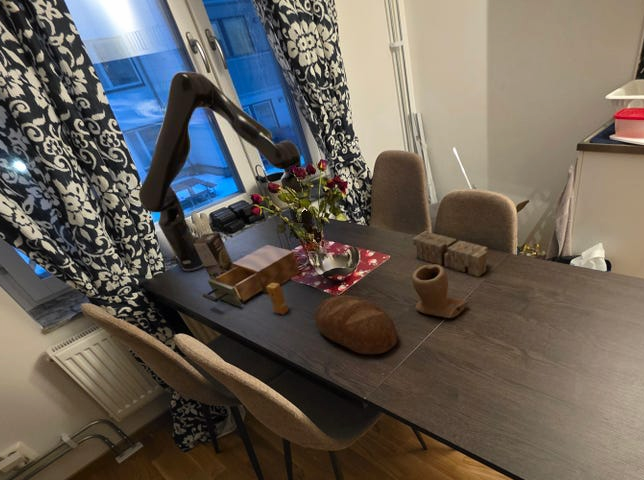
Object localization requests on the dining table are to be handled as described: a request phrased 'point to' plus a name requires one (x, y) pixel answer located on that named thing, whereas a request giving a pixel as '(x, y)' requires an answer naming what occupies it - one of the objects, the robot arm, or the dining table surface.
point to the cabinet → (270, 265)
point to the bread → (356, 324)
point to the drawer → (235, 286)
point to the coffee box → (213, 255)
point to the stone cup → (435, 292)
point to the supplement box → (277, 298)
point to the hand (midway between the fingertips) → (311, 251)
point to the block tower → (451, 253)
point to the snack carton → (306, 250)
